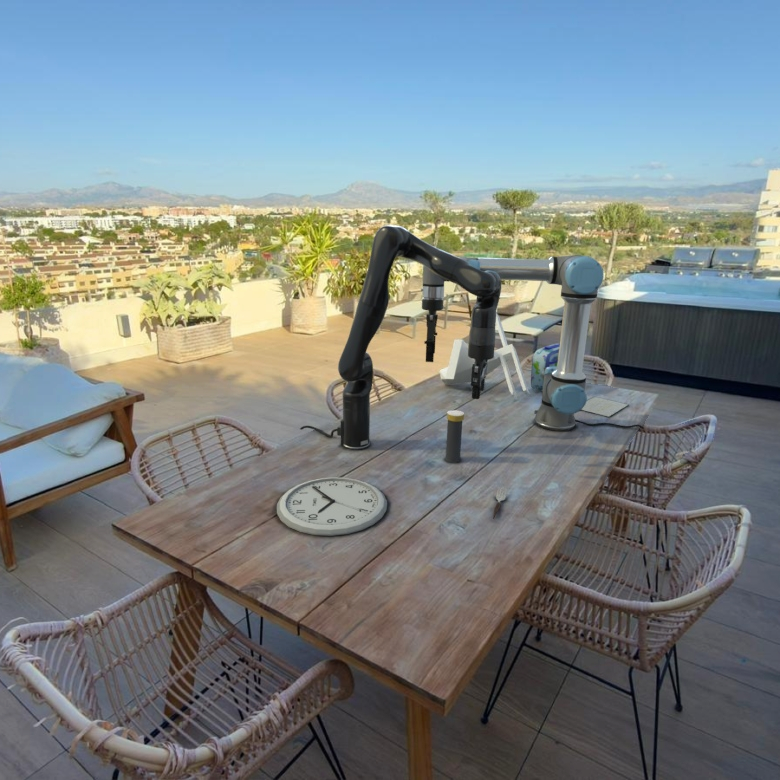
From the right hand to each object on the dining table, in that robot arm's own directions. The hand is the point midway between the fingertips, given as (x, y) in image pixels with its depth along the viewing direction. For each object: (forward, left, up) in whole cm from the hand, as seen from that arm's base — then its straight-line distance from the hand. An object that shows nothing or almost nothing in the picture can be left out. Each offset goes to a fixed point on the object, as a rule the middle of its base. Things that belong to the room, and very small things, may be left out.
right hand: (430, 357), depth 190 cm
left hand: (-16, +34, -3) cm, 37 cm away
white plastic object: (-22, -50, -28) cm, 61 cm away
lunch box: (-56, -63, -28) cm, 89 cm away
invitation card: (-73, -38, -28) cm, 87 cm away
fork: (-22, +55, -28) cm, 65 cm away
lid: (-10, +26, -12) cm, 30 cm away
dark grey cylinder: (-10, +26, -28) cm, 39 cm away
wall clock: (+23, +61, -28) cm, 71 cm away
